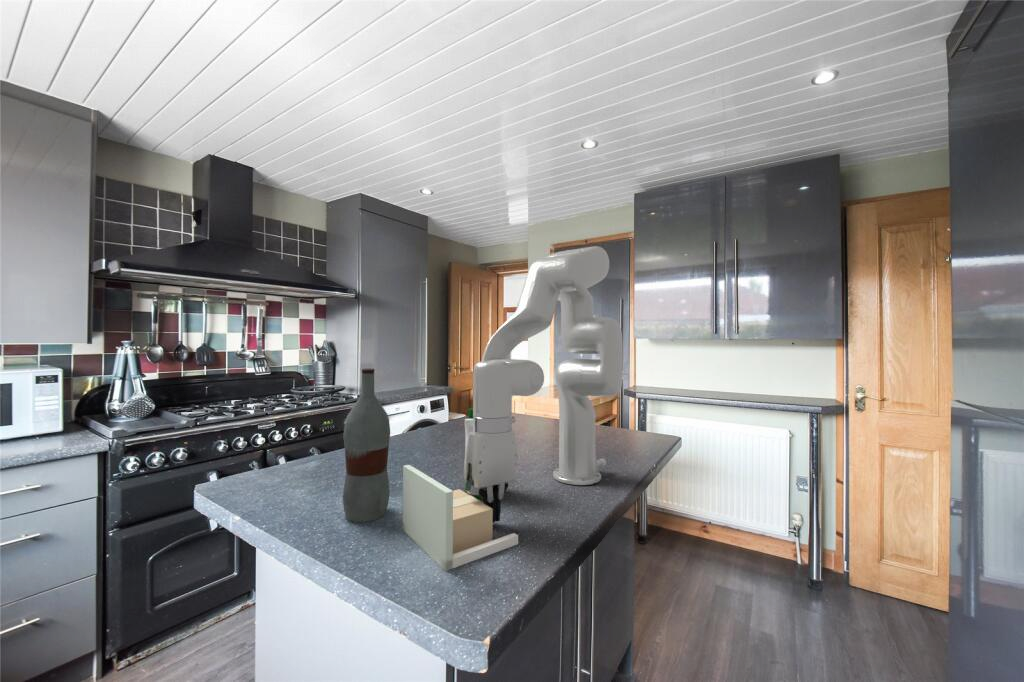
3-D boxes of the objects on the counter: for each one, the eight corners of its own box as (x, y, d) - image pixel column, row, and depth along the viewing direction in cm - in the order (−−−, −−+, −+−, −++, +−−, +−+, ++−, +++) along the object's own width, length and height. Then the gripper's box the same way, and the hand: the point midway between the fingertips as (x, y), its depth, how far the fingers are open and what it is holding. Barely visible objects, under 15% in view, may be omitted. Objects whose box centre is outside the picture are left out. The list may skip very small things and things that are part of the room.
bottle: (337, 511, 82) (338, 368, 83) (380, 501, 88) (382, 367, 89) (349, 527, 75) (351, 370, 76) (396, 515, 81) (398, 369, 81)
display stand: (467, 511, 83) (467, 453, 83) (518, 544, 69) (518, 475, 69) (402, 529, 75) (403, 465, 75) (445, 571, 61) (446, 492, 61)
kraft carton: (459, 519, 80) (459, 488, 80) (492, 542, 70) (492, 508, 70) (412, 532, 74) (412, 499, 74) (441, 560, 64) (442, 522, 64)
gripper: (511, 417, 84) (511, 504, 84) (448, 426, 75) (448, 522, 75) (534, 423, 78) (533, 516, 78) (469, 432, 69) (468, 538, 69)
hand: (491, 519), depth 76 cm, fingers closed
